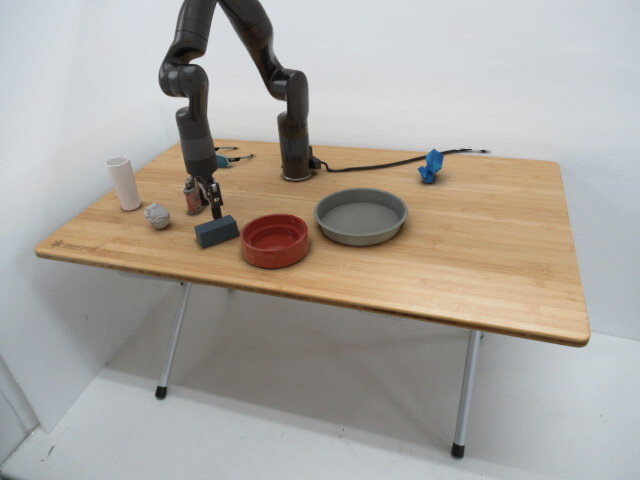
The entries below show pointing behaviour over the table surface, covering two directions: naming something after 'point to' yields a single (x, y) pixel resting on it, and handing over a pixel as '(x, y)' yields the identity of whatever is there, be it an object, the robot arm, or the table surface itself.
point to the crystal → (431, 165)
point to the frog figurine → (157, 215)
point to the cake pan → (360, 215)
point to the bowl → (274, 240)
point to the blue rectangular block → (216, 231)
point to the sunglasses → (222, 159)
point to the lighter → (192, 197)
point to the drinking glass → (123, 182)
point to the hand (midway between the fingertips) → (211, 211)
